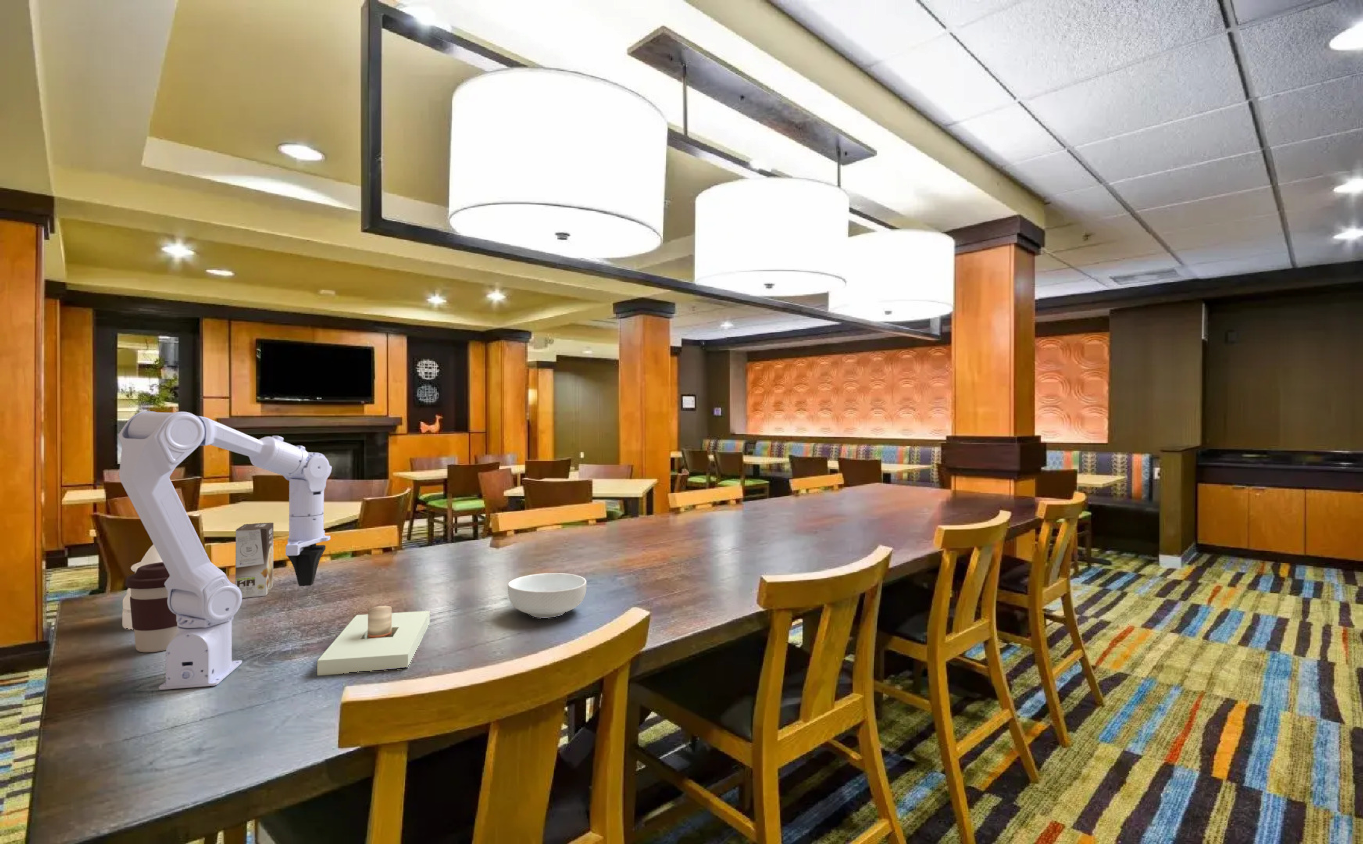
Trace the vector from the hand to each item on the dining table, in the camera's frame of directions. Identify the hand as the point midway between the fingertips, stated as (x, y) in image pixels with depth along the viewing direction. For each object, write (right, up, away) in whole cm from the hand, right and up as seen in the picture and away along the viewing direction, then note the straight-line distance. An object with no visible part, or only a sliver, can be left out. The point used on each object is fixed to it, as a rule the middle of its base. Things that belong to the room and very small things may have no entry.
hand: (306, 585), depth 121 cm
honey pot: (-36, -10, +10) cm, 39 cm away
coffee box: (-30, -10, +30) cm, 44 cm away
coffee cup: (-24, -10, -4) cm, 27 cm away
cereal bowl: (+43, -11, +18) cm, 47 cm away
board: (+16, -11, -3) cm, 19 cm away
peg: (+16, -11, -3) cm, 19 cm away
